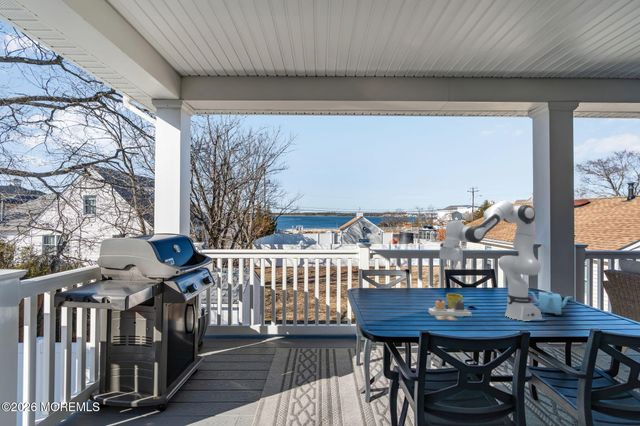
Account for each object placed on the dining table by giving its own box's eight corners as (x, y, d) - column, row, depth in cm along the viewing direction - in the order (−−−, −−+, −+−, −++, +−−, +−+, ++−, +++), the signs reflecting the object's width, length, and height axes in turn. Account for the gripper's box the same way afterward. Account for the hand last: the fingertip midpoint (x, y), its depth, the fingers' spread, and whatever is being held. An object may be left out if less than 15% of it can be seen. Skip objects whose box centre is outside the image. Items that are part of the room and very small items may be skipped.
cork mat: (453, 317, 210) (453, 316, 210) (457, 320, 203) (457, 319, 203) (434, 316, 211) (434, 315, 211) (437, 319, 204) (437, 318, 204)
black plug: (461, 310, 218) (462, 298, 218) (464, 311, 214) (464, 300, 214) (454, 310, 218) (454, 298, 218) (456, 311, 214) (456, 299, 215)
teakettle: (527, 306, 243) (527, 286, 243) (570, 312, 230) (570, 291, 231) (528, 314, 222) (528, 292, 222) (575, 321, 209) (575, 298, 209)
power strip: (466, 313, 219) (467, 308, 219) (471, 316, 212) (471, 310, 212) (428, 312, 220) (428, 306, 220) (431, 315, 213) (431, 309, 213)
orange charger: (443, 309, 218) (443, 298, 218) (445, 311, 215) (445, 299, 215) (435, 309, 219) (435, 297, 219) (437, 310, 215) (437, 299, 215)
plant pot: (463, 312, 223) (464, 297, 223) (447, 310, 225) (447, 296, 225) (460, 308, 233) (460, 294, 233) (444, 306, 235) (445, 292, 235)
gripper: (466, 246, 198) (464, 270, 197) (447, 245, 218) (445, 266, 217) (456, 245, 197) (454, 268, 196) (438, 244, 217) (436, 265, 216)
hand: (449, 267), depth 206 cm, fingers open, 8 cm apart
